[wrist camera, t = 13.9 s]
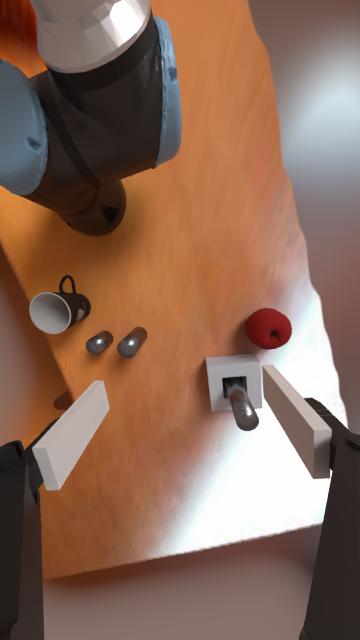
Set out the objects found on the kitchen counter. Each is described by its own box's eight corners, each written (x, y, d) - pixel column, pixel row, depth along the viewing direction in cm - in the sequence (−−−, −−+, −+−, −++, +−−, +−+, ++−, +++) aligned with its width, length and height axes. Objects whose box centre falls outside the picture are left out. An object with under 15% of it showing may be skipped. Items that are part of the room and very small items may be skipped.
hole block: (205, 357, 50) (206, 366, 45) (253, 353, 49) (259, 361, 44) (209, 399, 53) (211, 411, 48) (255, 395, 52) (262, 407, 47)
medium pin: (130, 328, 49) (115, 340, 40) (145, 326, 49) (134, 338, 39) (133, 342, 50) (119, 358, 41) (148, 341, 50) (138, 357, 40)
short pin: (96, 331, 50) (84, 339, 44) (111, 330, 50) (100, 337, 44) (99, 346, 51) (88, 355, 45) (114, 344, 51) (104, 353, 45)
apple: (283, 307, 46) (308, 315, 36) (277, 343, 48) (299, 360, 38) (244, 304, 47) (258, 311, 37) (239, 340, 49) (251, 356, 39)
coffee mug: (80, 329, 50) (54, 342, 41) (54, 305, 49) (21, 312, 40) (109, 298, 48) (89, 304, 38) (83, 272, 47) (55, 271, 37)
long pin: (223, 384, 51) (237, 431, 36) (221, 370, 51) (235, 412, 35) (238, 383, 51) (259, 430, 35) (237, 369, 50) (258, 411, 35)
